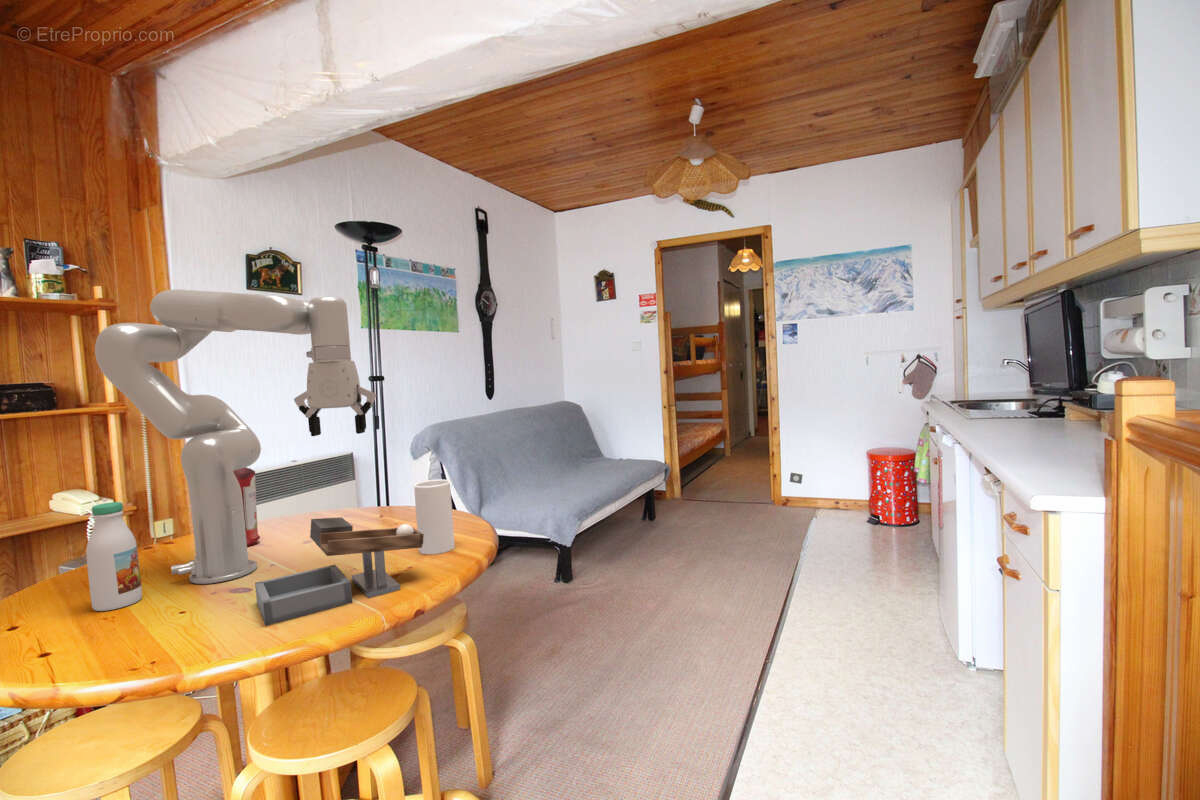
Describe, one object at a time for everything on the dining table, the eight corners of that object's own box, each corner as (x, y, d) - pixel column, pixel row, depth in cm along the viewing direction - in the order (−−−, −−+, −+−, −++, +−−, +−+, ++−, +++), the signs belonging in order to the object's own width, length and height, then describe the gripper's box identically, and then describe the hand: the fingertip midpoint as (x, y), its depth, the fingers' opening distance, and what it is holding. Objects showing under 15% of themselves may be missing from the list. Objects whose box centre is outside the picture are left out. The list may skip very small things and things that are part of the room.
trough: (396, 530, 134) (397, 514, 134) (422, 548, 119) (423, 529, 119) (310, 537, 123) (311, 519, 123) (327, 556, 109) (328, 536, 109)
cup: (449, 553, 135) (444, 485, 134) (414, 555, 136) (408, 487, 135) (458, 542, 144) (453, 478, 143) (425, 544, 144) (420, 480, 143)
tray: (265, 625, 101) (263, 603, 100) (257, 603, 111) (255, 582, 111) (352, 602, 109) (350, 581, 109) (336, 583, 120) (335, 564, 119)
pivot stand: (368, 598, 111) (364, 556, 110) (351, 580, 121) (348, 542, 121) (400, 589, 114) (397, 549, 114) (381, 572, 125) (378, 535, 124)
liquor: (235, 542, 155) (225, 438, 154) (265, 539, 157) (255, 435, 155) (224, 550, 148) (213, 441, 147) (256, 547, 150) (246, 438, 148)
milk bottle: (101, 615, 110) (89, 510, 109) (85, 608, 114) (74, 507, 113) (149, 600, 116) (139, 501, 115) (133, 593, 120) (123, 498, 119)
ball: (397, 542, 118) (401, 525, 119) (392, 538, 121) (395, 521, 122) (414, 543, 120) (417, 526, 121) (408, 539, 123) (412, 523, 124)
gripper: (282, 357, 122) (289, 438, 123) (365, 352, 122) (371, 434, 123) (300, 357, 130) (307, 434, 131) (378, 353, 130) (384, 430, 131)
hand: (338, 434), depth 127 cm, fingers open, 9 cm apart
